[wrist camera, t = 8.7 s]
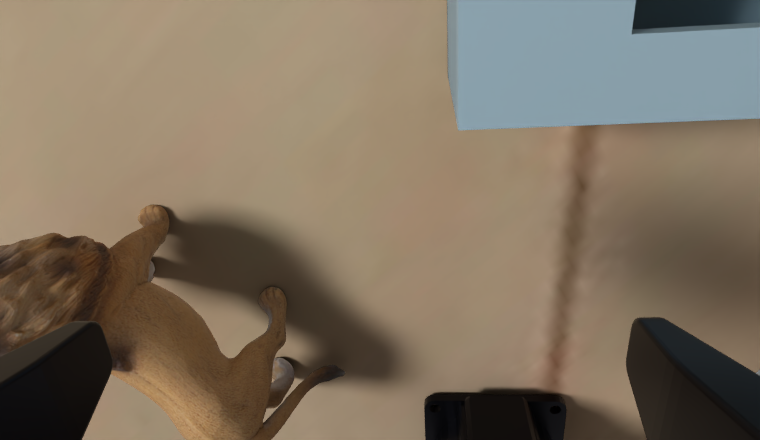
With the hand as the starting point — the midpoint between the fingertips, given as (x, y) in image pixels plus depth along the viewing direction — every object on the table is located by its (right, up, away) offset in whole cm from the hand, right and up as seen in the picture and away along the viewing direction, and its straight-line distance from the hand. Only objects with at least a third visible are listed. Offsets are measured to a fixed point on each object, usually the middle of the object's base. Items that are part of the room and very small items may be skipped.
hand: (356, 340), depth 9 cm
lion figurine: (-8, -1, +15) cm, 17 cm away
